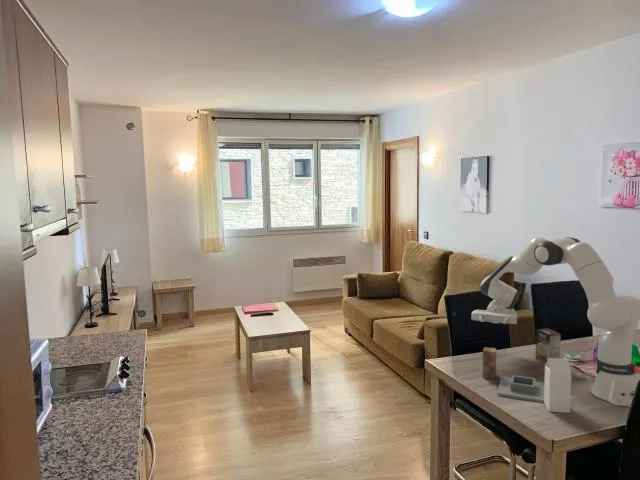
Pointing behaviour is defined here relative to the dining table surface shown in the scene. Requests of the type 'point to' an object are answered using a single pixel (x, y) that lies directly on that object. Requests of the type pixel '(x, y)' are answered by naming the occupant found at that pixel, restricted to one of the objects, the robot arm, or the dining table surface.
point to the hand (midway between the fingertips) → (492, 321)
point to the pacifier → (571, 355)
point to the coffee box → (547, 345)
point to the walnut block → (489, 362)
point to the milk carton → (557, 385)
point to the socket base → (521, 388)
